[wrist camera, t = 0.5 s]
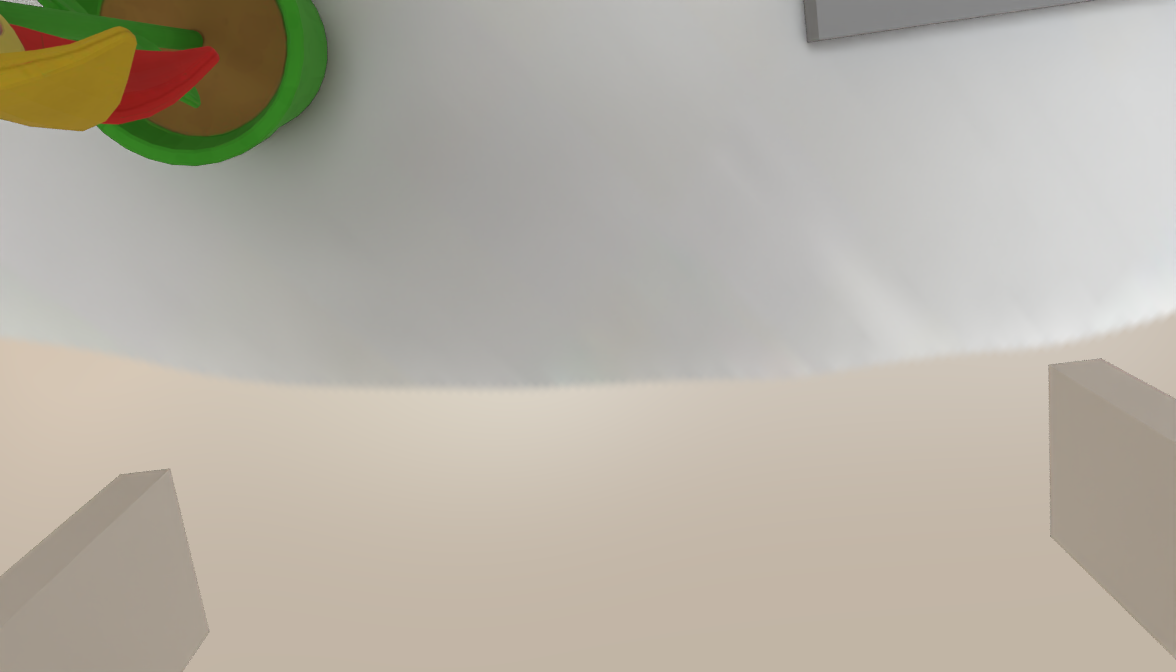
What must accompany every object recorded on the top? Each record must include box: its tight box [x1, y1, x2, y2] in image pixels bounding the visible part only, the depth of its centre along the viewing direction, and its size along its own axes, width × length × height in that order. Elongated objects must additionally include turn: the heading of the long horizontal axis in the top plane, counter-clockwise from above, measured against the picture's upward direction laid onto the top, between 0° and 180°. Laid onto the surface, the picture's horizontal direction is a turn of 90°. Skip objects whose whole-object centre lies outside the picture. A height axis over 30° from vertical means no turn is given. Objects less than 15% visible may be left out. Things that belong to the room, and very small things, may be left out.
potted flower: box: [0, 0, 327, 166], centre depth 26 cm, size 9×8×25 cm
